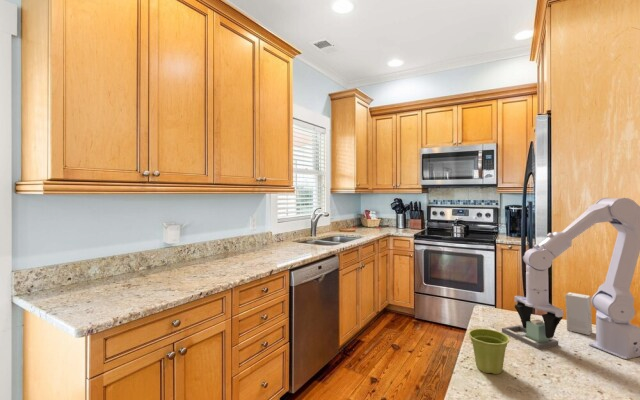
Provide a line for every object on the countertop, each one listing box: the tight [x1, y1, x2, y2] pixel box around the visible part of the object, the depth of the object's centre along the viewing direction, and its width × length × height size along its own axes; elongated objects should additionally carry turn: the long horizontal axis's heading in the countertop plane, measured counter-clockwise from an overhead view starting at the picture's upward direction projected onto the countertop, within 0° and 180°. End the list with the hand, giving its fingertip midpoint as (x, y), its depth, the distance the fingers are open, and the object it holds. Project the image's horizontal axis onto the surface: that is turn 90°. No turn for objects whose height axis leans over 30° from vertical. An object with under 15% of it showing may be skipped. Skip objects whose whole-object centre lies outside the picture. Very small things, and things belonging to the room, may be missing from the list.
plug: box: [526, 319, 549, 343], centre depth 100 cm, size 4×4×7 cm
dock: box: [501, 324, 559, 350], centre depth 103 cm, size 13×8×1 cm, turn 17°
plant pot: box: [468, 328, 510, 375], centre depth 85 cm, size 9×9×9 cm
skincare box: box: [565, 291, 593, 336], centre depth 107 cm, size 6×4×12 cm
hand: (537, 332), depth 100 cm, fingers open, 7 cm apart
